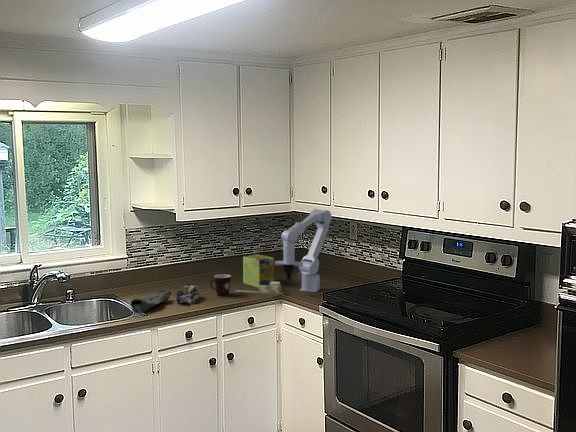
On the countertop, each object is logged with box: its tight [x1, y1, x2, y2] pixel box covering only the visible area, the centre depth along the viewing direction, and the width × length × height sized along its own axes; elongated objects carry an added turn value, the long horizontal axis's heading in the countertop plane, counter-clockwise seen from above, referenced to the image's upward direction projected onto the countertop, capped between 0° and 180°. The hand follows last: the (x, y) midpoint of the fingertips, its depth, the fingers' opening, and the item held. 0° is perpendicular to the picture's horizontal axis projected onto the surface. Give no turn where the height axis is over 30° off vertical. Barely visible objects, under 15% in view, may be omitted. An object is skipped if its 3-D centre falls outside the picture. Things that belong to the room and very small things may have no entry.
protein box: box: [242, 254, 275, 289], centre depth 348 cm, size 10×15×16 cm
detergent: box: [130, 289, 172, 313], centre depth 305 cm, size 13×7×25 cm
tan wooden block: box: [258, 284, 283, 295], centre depth 328 cm, size 12×3×4 cm, turn 75°
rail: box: [234, 289, 284, 295], centre depth 330 cm, size 26×2×1 cm, turn 75°
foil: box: [175, 282, 201, 305], centre depth 313 cm, size 12×11×15 cm
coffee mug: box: [209, 273, 232, 297], centre depth 324 cm, size 12×9×10 cm
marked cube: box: [270, 281, 281, 286], centre depth 333 cm, size 4×5×4 cm
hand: (289, 279), depth 325 cm, fingers closed
